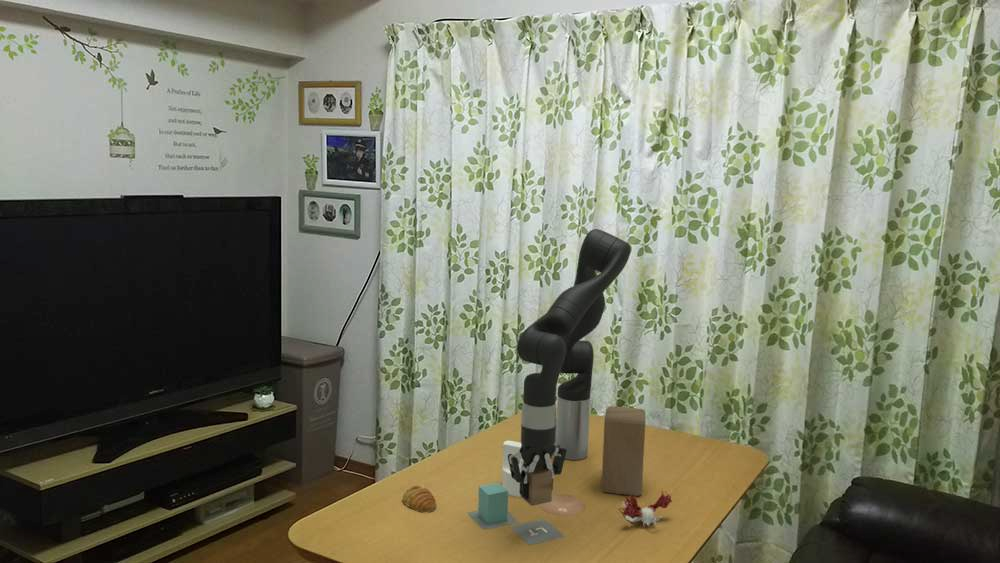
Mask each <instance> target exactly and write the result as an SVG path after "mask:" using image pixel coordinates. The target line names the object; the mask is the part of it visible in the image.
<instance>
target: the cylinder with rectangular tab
mask: <svg viewBox="0 0 1000 563" xmlns="http://www.w3.org/2000/svg"><path fill="white" fill-rule="evenodd" d="M520 448H521V441H520V442H519V441H514V440H506V441H504V442H503V444H502V469H501V470H502V474H501V475H502V476H501V485H502V486H503V487H504V488H505V489H506V490H508V496H511V497H518V498H519V497H520V498H522V497H521V495H520V493H519V491H520V482H519V483H518V482H517V481H516V480H515V479H513V478H512V476H511V471H510V467H509V462H508V455H509V454H512V455H514V454H516V453H519V450H520ZM522 462H523V459H522V458H521V459H520V464H519V469H520V472H521V465H522Z"/></svg>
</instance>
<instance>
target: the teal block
mask: <svg viewBox="0 0 1000 563" xmlns="http://www.w3.org/2000/svg"><path fill="white" fill-rule="evenodd" d="M508 502H509V495H508V490H506V489H505V488H504V487H503V486H502V483H499V482H494V483H489V484H483V485H479V486H478V510H477V511H478V515H479V516H480V517H481V518H482V519H483V520H484V521H485V522H486V523H487V524H491V523H495V522H500V521H504V520H507V513H508V512H509V511H508V508H509V507H508V506H509V504H508Z"/></svg>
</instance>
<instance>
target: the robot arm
mask: <svg viewBox="0 0 1000 563" xmlns="http://www.w3.org/2000/svg"><path fill="white" fill-rule="evenodd" d="M631 249H632V247H631V245H630V243H628V242H626V241H625V240H624V239H621V238H619V237H617V236H615V235H613V234H612V233H609V232H606V231H605V230H602V229H599V228H593V229H591V230H590V231H588V233H587V234H586V236H585V237H584V239H583V242H582V243H581V247H580V250H579V255H578V260H577V268H576V274H575V280H574V284H573V286H570V287H569V288H567V289H565V290H563V291H562V292H561V293H560V294H559V295H558V297H556V299H555V300H554V301H553V303H552V304H551V306H550V307H549V308H548V310H547V312H546V313H545V314H544V315H542V316H540V317H539V318H538V319H536V321H534V322H533V323H531V324H530V325H529V326H528V327H527V328H525V329H524V331H523V332H522V333H521V335H520V336H519V337H518V340H517V344H516V353H517V356H518V357H519V358H520V360H522V361H524V362H526V363H528V364H529V363H530V364H535V365H539V366H541V371H540V372H534V373H529V374H528V375H526V376H525V378H524V380H523V395H522V396H523V400H522V401H523V402H522V408H521V421H520V422H521V424H520V426H521V427H520V443H521V448H520V450H519V453H516V454H514V455H512V454H509V455H508V462H509V467H510V471H511V476H512V478H513V479H515V480H516V481H517V482H518V483H519V482H520V491H519V493H520V495H521V496H522V497H523V498H524V499H528V498H529V483H528V482H529V477H530V474H533V472H534V469H535V468H537V467H545V468H546V469H547V470H548V471H549V470H551V471H552V472H553V475H552V491H553V489H554V488H553V487H554V478H555V477H556V476H557V475H558V476H559V475H561V474H562V471H563V468H564V463H565V460H568V461H578V460H579V461H580V460H584V459H586V458H587V457H588V456H589V437H590V436H589V434H590V432H589V431H590V416H591V415H590V414H591V413H590V412H591V411H590V410H591V409H590V408H591V407H590V405H591V391H592V380H593V379H592V378H593V367H594V347H593V344H592V343H591V341H589V340H582V339H583V338H585V337H586V336H588V335H589V334H590V333H592V332H593V331H594V330H595V329H597V327H598V325H599V324H600V322H601V319H602V317H603V314H604V311H605V307H606V300H605V299H606V298H605V295H604V292H605V291H607V289H608V288H609V287H610V286H611V284H612V283H613V282H614V281H615V280H616V278H618V276H619V275H620V274H621V272H623V270H624V268H625V267H626V265H627V263H628V261H629V258H630V256H631V252H632V251H631ZM596 271H597V272H598V273H599V274H597V273H596ZM560 374H565V375H566V374H571V375H573V374H577V375H575V376H574V377H573V378H571V379H570V380H567V381H564V382H563V383H561V384H559V385H557V384H558V381H559V378H560ZM557 386H558V388H557ZM556 398H557V399H556ZM556 400H557V403H556ZM556 406H557V408H556ZM553 456H554V457H553ZM521 458H522V459H523V462H522V465H521V472H520V469H519V464H520V459H521ZM552 458H553V461H552V460H551V459H552ZM528 466H529V468H528ZM522 497H521V498H522ZM523 498H522V499H523ZM524 499H523V500H524Z"/></svg>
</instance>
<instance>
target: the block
mask: <svg viewBox="0 0 1000 563" xmlns="http://www.w3.org/2000/svg"><path fill="white" fill-rule="evenodd" d="M603 423H604V425H603V426H604V427H603V442H602V443H603V445H602V446H603V447H602V465H601V467H602V468H601V469H602V470H601V485H600V486H601V490H602V492H604V493H609V494H619V495H625V496H626V495H628V496H629V495H631V496H634V494H636V497H638V496H641V494H642V491H643V478H644V477H643V476H644V475H643V472H644V460H645V459H644V456H645V438H646V437H645V436H646V410H645V409H643V408H635V407H623V406H611V405H610V406H607V407H606V410H605V415H604V422H603Z"/></svg>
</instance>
